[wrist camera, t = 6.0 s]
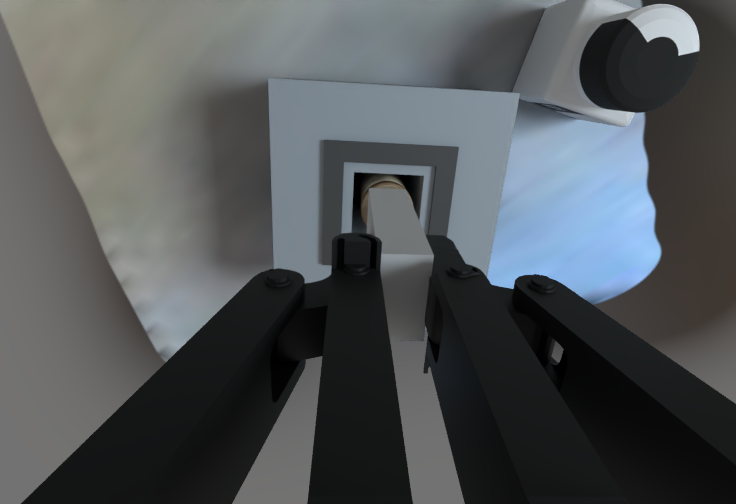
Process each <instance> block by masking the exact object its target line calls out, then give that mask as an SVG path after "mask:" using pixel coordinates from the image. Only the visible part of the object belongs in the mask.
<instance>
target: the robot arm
mask: <svg viewBox="0 0 736 504" xmlns="http://www.w3.org/2000/svg"><path fill="white" fill-rule="evenodd" d="M425 325H426V329H427V332H428V340H427V347H426V355H425V363H424V373H428V368H429V367H430V368H431V372H432V376H433V380H434V383H435V387H436V391H437V395H438V399H439V403H440V407H441V411H442V415H443V419H444V423H445V427H446V431H447V435H448V439H449V443H450V446H451V451H452V455H453V458H454V463H455V467H456V471H457V474H458V478H459V482H460V487H461V491H462V494H463V498H464V502H465V504H736V404H735V403H734V402H732V401H731V400H729V399H728V398H726V397H725V396H723V395H722V394H720V393H719V392H718V391H716V390H715V389H713V388H712V387H710V386H709V385H708V384H706V383H705V382H703V381H702V380H700V379H699V378H697V377H696V376H695V375H693V374H692V373H690V372H689V371H687V370H686V369H684V368H683V367H682V366H680V365H679V364H677V363H676V362H674V361H673V360H671V359H670V358H668V357H667V356H666V355H664V354H663V353H661V352H660V351H658V350H657V349H656V348H654V347H653V346H651V345H650V344H648V343H647V342H645V341H644V340H643V339H641V338H639V337H638V336H637V335H635V334H634V333H632V332H631V331H630V330H628V329H627V328H625V327H624V326H622V325H621V324H619V323H618V322H617V321H615V320H614V319H612V318H611V317H609V316H608V315H606V314H605V313H603V312H602V311H601V310H599V309H598V308H596V307H595V306H593V305H592V304H591V303H589V302H588V301H586V300H585V299H583V298H582V297H580V296H579V295H578V294H576V293H575V292H573V291H572V290H570V289H569V288H567V287H566V286H565V285H563V284H561V283H559V282H558V281H556V280H553V279H550V278H548V277H547V276H543V275H541V276H540V275H536V274H534V275H524V276H520V277H518V278H517V279H516V280H515V284H514V289H509V288H504V287H498V286H494V285H491V284H490V282H489V280H488V279H487V277H486V276H485V274H484V273H483V272H482V271H481V270H480V269H478V268H477V267H474V266H472V265H469V264H466V263H465V262H464V260H463V258H462V256H461V255H460V254H459V251H458V249H456V246H455V244H454V242H453V241H452V240H450V239H449V238H447V237H446V236H444V235H425V233H424V231H423V229H422V226H421V224H420V222H419V219H418V217H417V215H416V212H415V210H414V208H413V205H412V203H411V201H410V198H409V196H408V194H407V191H406V189H382V188H369V197H368V217H367V234H366V233H357V232H356V233H342V234H340V235H338V236H336V237H334V238H333V240H332V268H331V275H330V276H329V277H327V278H325V279H323V280H320V281H316V282H311V283H305V279H304V277H303V276H302V275H301V274H300V273H298V272H296V271H292V270H288V269H281V268H277V269H270V270H268V271H265V272H261V273H259V274H258V275H256V276H255V277H253V278H252V279H251V280H250V281H249V282H248V283H247V284H246V285H245V286H244V287H243V288H242V289H241V290H240V291H239V292H238V293H237V294H236V295H235V296H234V297H233V298H232V299H231V300H230V301H229V302H228V303H227V304H226V305H225V306H224V307H223V308H221V309H220V310H219V311H218V312H217V313H216V314H215V315H214V316H213V317H212V318H211V319H210V320H209V321H208V322H207V323H206V324H205V325H204V326H203V327H202V328H201V329H200V330H199V331H198V332H197V333H196V334H195V335H194V336H193V337H192V338H191V339H190V340H189V341H188V342H187V343H186V344H185V345H183V346H182V347H181V348H180V349H179V350H178V351H177V352H176V353H175V354H174V355H173V356H172V357H171V358H170V359H169V360H168V361H167V362H166V363H165V364H164V365H163V366H162V367H161V368H160V369H159V370H158V371H157V372H156V373H155V374H154V375H153V376H152V377H151V378H150V379H149V380H148V381H147V382H145V383H144V385H143V386H141V387H140V388H139V389H138V390H137V391H136V392H135V393H134V394H133V395H132V396H131V397H130V398H129V399H128V400H127V401H126V402H125V403H124V404H123V405H122V406H121V407H120V408H119V409H118V410H117V411H116V412H115V413H114V414H113V415H112V416H111V417H110V418H109V419H107V421H106V422H105V423H103V424H102V425H101V426H100V427H99V428H98V429H97V430H96V431H95V432H94V433H93V434H92V435H91V436H90V437H89V438H88V439H87V440H86V441H85V442H84V443H83V444H82V445H81V446H80V447H79V448H78V449H77V450H76V451H75V452H74V453H73V454H72V455H71V456H70V457H69V458H67V460H65V462H63V463H62V464H61V465H60V466H59V467H58V468H57V469H56V470H55V471H54V472H53V473H52V474H51V475H50V476H49V477H48V478H47V479H46V480H45V481H44V482H43V483H42V484H41V485H40V486H39V487H38V488H37V489H36V490H35V491H34V492H33V493H32V494H31V495H29V497H27V498H26V499H25V500H24V501H23V502H22V503H21V504H232V503H233V501H234V499H235V497H236V495H237V493H238V491H239V489H240V487H241V486H242V484H243V482H244V480H245V478H246V477H247V475H248V473H249V471H250V469H251V467H252V465H253V464H254V462H255V460H256V458H257V456H258V454H259V452H260V450H261V449H262V447H263V445H264V443H265V441H266V439H267V437H268V436H269V434H270V432H271V430H272V428H273V426H274V424H275V423H276V421H277V419H278V417H279V415H280V413H281V411H282V410H283V408H284V406H285V404H286V402H287V400H288V398H289V396H290V395H291V393H292V391H293V389H294V387H295V385H296V383H297V382H298V380H299V378H300V376H301V374H302V372H303V370H304V368H305V364H306V359H309V358H315V357H319V356H323V357H322V367H321V377H320V387H319V396H318V407H317V416H316V426H315V436H314V446H313V455H312V465H311V475H310V485H309V495H308V504H413V501H412V496H411V488H410V481H409V474H408V467H407V460H406V454H405V446H404V438H403V431H402V424H401V416H400V409H399V402H398V395H397V388H396V380H395V373H394V366H393V359H392V351H391V344H390V340H395V341H398V340H399V341H424V332H425ZM556 341H557V342H558V343H559V344H560V345H561V346H562V348H563V349H564V351H563V354H562V358H561V360H560V362H559V363H558V362H556V361H555V360H554V359H553V358H552V357H551V356H552V352H553V349H554V345H555V342H556Z"/></svg>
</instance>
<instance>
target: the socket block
mask: <svg viewBox="0 0 736 504" xmlns="http://www.w3.org/2000/svg"><path fill="white" fill-rule="evenodd" d="M268 92H269V125H270V158H271V191H272V224H273V257H274V269H277V268H281V269H288V270H292V271H296V272H298V273H300V274H301V275H302V276H303V277H304V279H305V283H311V282H316V281H320V280H323V279H325V278H327V277H329V276H330V275H331V268H332V240H333V238H334V237H336V236H338V235H340V234H342V233H356V232H357V233H366V234H367V226H366V225H365V223H364V221H363V219H362V216H361V205H353V185H354V172H361V173H381V174H401V175H407V177H406V190H407V191H408V193H409V195H410V197H411V199H412V202H413V206H414V210H415V212H416V215H417V217H418V219H419V222H420V224H421V226H422V229H423V231H424V233H425V235H444V236H446V237H447V238H449V239H450V240H452V241H453V242H454V244H455V246H456V249H458V251H459V254H460V255H461V256H462V258H463V260H464V262H465V263H466V264H469V265H472V266H474V267H477V268H478V269H480V270H481V271H482V272H483V273H484V274H485V276H486V277H487V274H488V268H489V263H490V257H491V252H492V246H493V241H494V235H495V230H496V224H497V219H498V213H499V207H500V202H501V196H502V191H503V185H504V180H505V174H506V169H507V163H508V158H509V152H510V146H511V141H512V135H513V130H514V124H515V119H516V113H517V108H518V102H519V97H520V93H511V92H498V91H486V90H471V89H455V88H438V87H422V86H405V85H389V84H372V83H356V82H340V81H323V80H307V79H290V78H268Z"/></svg>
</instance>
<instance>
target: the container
mask: <svg viewBox="0 0 736 504" xmlns="http://www.w3.org/2000/svg"><path fill="white" fill-rule="evenodd" d="M698 54H699V35H698V32H697V28H696V26H695V24H694V22H693V20H692V19H691V17H690V16H689V15H688V14H687V13H686V12H684V11H683V10H682V9H680V8H678V7H676V6H672V5H668V4H655V5H650V6H646V7H642V8H638V9H635V8H632V7H630V6H627V5H625V4H622V3H619V2H617V1H614V0H566V1H564V2H561V3H558V4H556V5H553V6H550V7H548V8H546V9H545V11H544V13H543V16H542V18H541V21H540V23H539V26H538V28H537V31H536V33H535V35H534V38H533V40H532V43H531V45H530V48H529V50H528V53H527V55H526V58H525V60H524V63H523V65H522V68H521V70H520V73H519V75H518V78H517V80H516V83H515V85H514V88H513V90H512V93H520V97H519V99H521V100H524V101H527V102H530V103H533V104H535V105H538V106H541V107H544V108H547V109H550V110H553V111H556V112H559V113H562V114H565V115H568V116H571V117H574V118H577V119H580V120H585V121H591V122H597V123H602V124H608V125H614V126H619V127H626V126H628V125H629V124H630V122H631V120H632V118H633V116H634V114H635V113H638V112H647V111H650V110H654V109H656V108H658V107H661V106H662V105H664V104H666V103H667V102H669V101H670V100H671V99H672V98H674V97H675V96H676V95H677V94H678V93H679V92H680V91H681V90H682V89H683V87H684V86H685V85H686V83H687V82H688V80H689V79H690V77H691V75H692V73H693V71H694V68H695V66H696V63H697V59H698Z"/></svg>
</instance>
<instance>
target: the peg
mask: <svg viewBox="0 0 736 504" xmlns="http://www.w3.org/2000/svg"><path fill="white" fill-rule="evenodd" d="M369 188H382V189H406V188H405V186H404V184H403V182H402V180H401V177H400V175H399V174H381V173H363V174H362V176H361V180H360V193H361V216H362V219H363V221H364V223H365V225H366V226H367V217H368V197H369ZM406 191H407V190H406ZM407 194H408V196H409V198H410V201H411V203H412V205H413V202H412V199H411V197H410V195H409V193H408V191H407ZM413 208H414V206H413Z"/></svg>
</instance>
